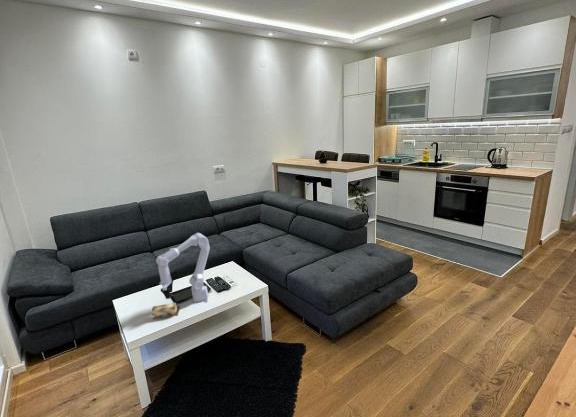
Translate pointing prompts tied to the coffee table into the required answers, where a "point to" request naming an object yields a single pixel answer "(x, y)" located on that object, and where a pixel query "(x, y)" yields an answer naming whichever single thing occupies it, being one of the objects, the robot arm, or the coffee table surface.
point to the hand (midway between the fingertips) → (169, 295)
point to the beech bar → (164, 309)
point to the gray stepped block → (165, 315)
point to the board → (170, 315)
